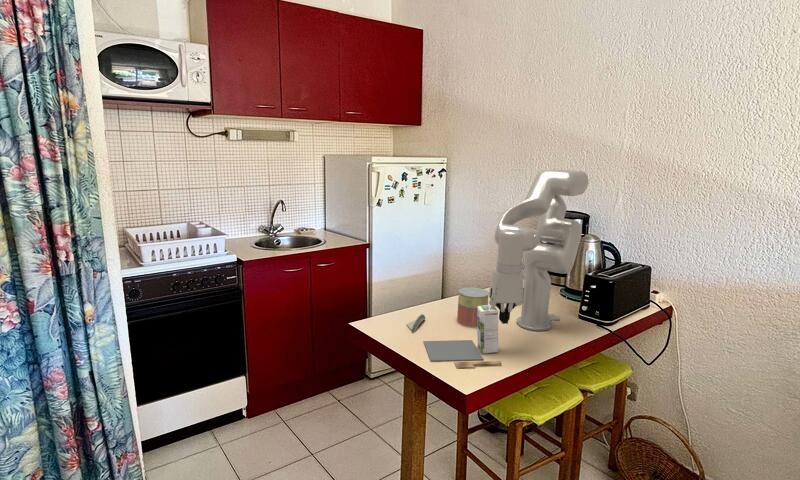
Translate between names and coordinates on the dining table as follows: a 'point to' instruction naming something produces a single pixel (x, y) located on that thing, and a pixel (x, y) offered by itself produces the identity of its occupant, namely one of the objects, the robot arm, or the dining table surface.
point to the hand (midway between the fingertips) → (503, 322)
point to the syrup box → (487, 329)
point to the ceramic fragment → (416, 323)
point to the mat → (452, 350)
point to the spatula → (476, 364)
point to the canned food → (470, 305)
